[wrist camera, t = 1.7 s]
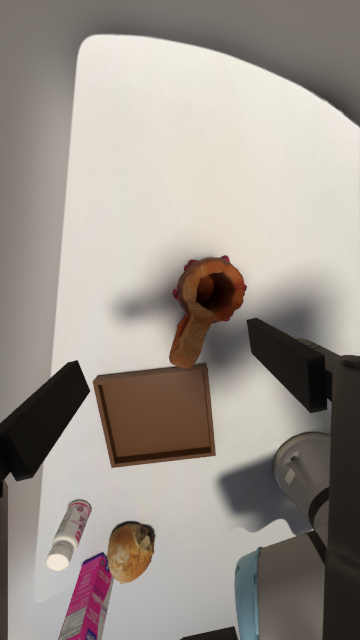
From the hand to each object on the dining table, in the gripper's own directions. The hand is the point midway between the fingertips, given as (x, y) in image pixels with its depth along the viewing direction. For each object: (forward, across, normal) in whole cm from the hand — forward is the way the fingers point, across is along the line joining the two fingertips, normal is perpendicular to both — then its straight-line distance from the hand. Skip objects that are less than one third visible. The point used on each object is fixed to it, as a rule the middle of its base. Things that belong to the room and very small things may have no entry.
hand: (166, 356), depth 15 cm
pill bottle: (+18, +30, +38) cm, 52 cm away
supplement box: (+17, +30, +55) cm, 66 cm away
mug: (+20, -4, 0) cm, 21 cm away
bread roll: (+18, +21, +50) cm, 56 cm away
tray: (+19, +7, +20) cm, 28 cm away
